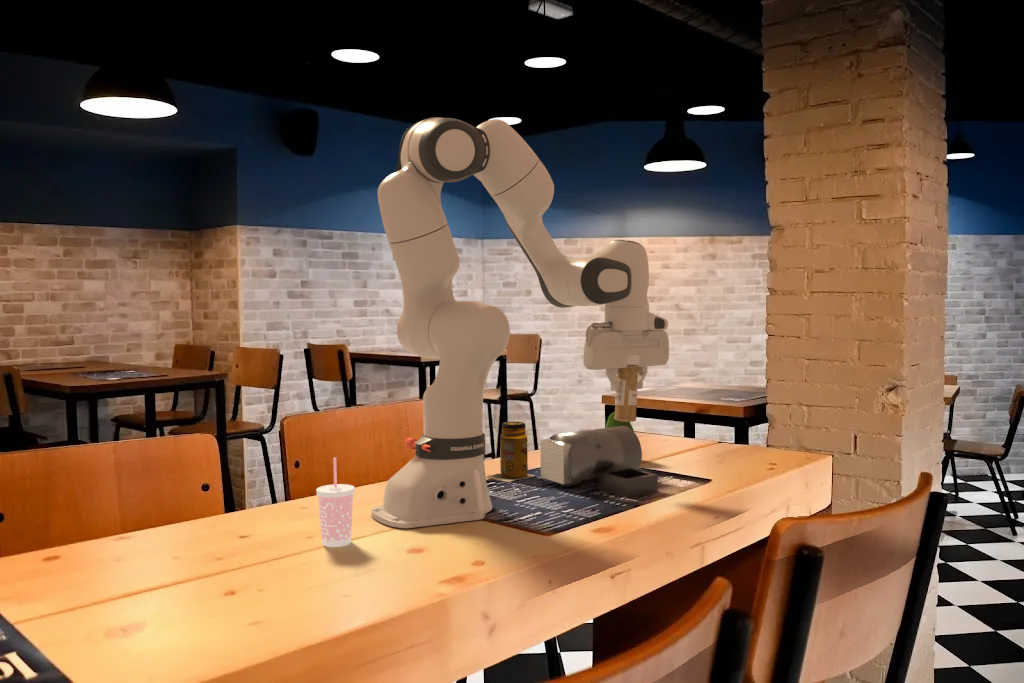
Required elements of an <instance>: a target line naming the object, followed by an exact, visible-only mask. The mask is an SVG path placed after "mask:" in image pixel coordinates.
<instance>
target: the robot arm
mask: <svg viewBox="0 0 1024 683" xmlns="http://www.w3.org/2000/svg"><path fill="white" fill-rule="evenodd" d="M398 150H399V151H398V156H397V162H396V171H395V172H393V173H390V174H389V175H388V176H386V177H385V178H384V179H383V180H382V181H381V182H380V184H379V186H378V188H377V200H378V207H379V213H380V216H381V220H382V226H383V229H384V233H385V236H386V238H387V241H388V245H389V246H390V250H391V252H392V253H391V254H392V256H393V259H394V262H395V265H396V268H397V271H398V274H399V277H400V281H401V287H402V292H403V293H402V295H403V307H402V312H401V314H400V316H399V317H398V321H397V324H396V336H397V339H398V342H399V343H400V345H401V347H402V348H403V349H404V350H405V351H407V352H409V353H410V354H413V355H416V356H418V357H421V358H423V359H429V360H430V359H431V360H439V365H438V370H437V374H436V376H435V378H434V380H433V383H432V384H431V385H429V386H427V388H426V390H425V391H424V393H423V396H422V405H423V406H422V408H423V410H422V411H423V412H422V413H423V416H422V417H423V418H422V419H423V420H422V421H423V434H422V435H421V436H420V438H419V439H418V440H417V439H416V438H413V437H407V438H406V439H405V441H404V446H405V447H406V448H407V449H410V450H415V454H414V455H415V456H413V458H412V459H410V460H409V461H408V462H407V463H406V464H405V465H404V466H402V467H401V468H400V469H399V470H398V471H397V472H396V473H395V474H393V475H392V476H391V477H390V478H389V479H388V480H387V482H386V483H385V484H386V485H385V488H384V495H383V503H382V504H381V505H377V506H374V507H372V509H371V517H372V518H373V519H374V520H375V521H377V522H378V523H381V524H383V525H386V526H389V527H394V528H398V529H412V528H420V527H428V526H429V527H430V526H436V525H437V526H438V525H445V524H455V523H462V522H470V521H478V520H483V519H485V517H486V514H487V513H489V512H491V511H492V510H493V505H492V504H493V503H492V501H491V497H490V493H489V490H488V484H487V475H486V469H485V459H486V434H485V433H484V430H483V428H484V427H483V424H484V423H483V418H484V414H483V411H484V409H483V408H484V403H483V402H484V392H485V386H486V382H487V380H488V376H489V373H490V371H491V368H492V366H493V364H494V363H495V361H496V360H497V359H498V358H499V357H500V356H501V355H502V354H503V353H504V351H505V350H506V348H507V347H508V344H509V341H510V336H511V330H510V329H511V328H510V327H511V326H510V323H509V320H508V317H507V316H506V314H505V312H504V311H503V310H501V309H500V308H499V307H496V306H495V305H491V304H488V303H485V302H482V301H481V302H480V301H478V300H477V301H475V300H473V301H472V300H471V301H470V300H469V301H468V300H465V301H464V300H463V301H460V300H459V301H458V300H456V298H455V296H454V291H453V278H454V276H455V275H456V274H457V272H458V270H459V268H460V257H459V253H458V251H457V248H456V244H455V241H454V239H453V235H452V233H451V229H450V227H449V224H448V220H447V218H446V215H445V211H444V210H443V207H442V201H441V200H442V199H441V193H442V189H443V188H442V187H443V186H444V183H455V182H460V181H463V180H466V179H468V178H469V177H473V176H474V177H475V178H476V179H477V180H478V181H479V182H481V183H482V185H483V187H484V188H485V189H486V191H487V192H488V194H489V195H490V196H491V198H492V199H493V200H494V202H495V203H496V205H497V206H498V208H499V210H500V211H501V213H502V214H503V215H504V219H505V223H506V225H507V227H508V230H509V232H510V233H511V235H512V236H513V238H514V239H515V241H516V243H517V245H518V246H519V248H520V249H521V250H522V252H523V254H524V255H525V257H526V258H527V260H528V261H529V263H530V264H531V267H532V268H533V269H534V270H533V271H535V274H536V276H537V278H538V281H539V282H538V283H539V286H540V289H541V291H542V294H543V296H544V298H545V299H546V300H547V301H548V302H549V303H550V304H551V305H552V306H555V307H557V308H562V309H564V308H565V309H566V308H572V307H590V306H592V307H593V306H596V307H597V306H598V307H599V306H602V305H604V321H603V322H593V323H591V324H590V325H589V326H588V327H587V328H586V331H585V340H584V341H585V342H584V348H583V356H582V357H583V359H582V361H583V362H582V363H583V365H584V368H585V369H587V370H590V371H591V370H594V371H599V370H600V371H601V370H605V374H606V376H607V378H608V381H609V382H610V391H612V392H616V391H620V390H621V386H622V382H619V381H618V379H617V374H618V368H626V367H627V356H629V355H637V356H640V363H639V365H638V366H639V367H638V387H637V390H643V388H644V380H645V378H646V376H647V373H648V367H656V366H657V367H658V366H666V365H667V363H668V361H669V359H670V342H669V340H670V339H669V335H668V333H667V331H666V330H667V329H668V327H669V321H668V319H666V318H665V317H662V316H659V315H657V314H654V313H652V312H650V305H649V304H650V303H649V300H648V290H649V286H650V269H649V266H650V265H649V258H648V257H649V256H648V253H647V250H646V247H645V246H644V245H642V244H641V243H639V242H637V241H634V240H627V239H626V240H625V239H616V240H612V241H609V242H608V243H607V245H606V246H605V247H604V248H602V249H601V250H598V251H597V252H595V253H593V254H590V255H589V256H585V257H573V258H572V257H571V256H570V257H569V256H567V255H565V254H564V253H562V252H561V251H560V249H559V248H558V247H557V245H556V243H555V241H554V240H553V238H552V236H551V235H550V233H549V232H548V230H547V228H546V226H545V225H544V222H543V215H544V213H546V211H547V210H548V209H549V208H550V206H551V204H552V201H553V198H554V194H555V184H554V182H553V179H552V177H551V175H550V173H549V171H548V169H547V168H546V166H545V165H544V163H543V162H542V161H541V160H540V157H538V155H537V154H536V153H535V152H534V150H533V149H532V147H530V145H529V144H528V143H527V141H526V140H524V138H523V137H522V136H521V135H520V134H519V133H518V132H517V131H516V130H515V129H514V128H513V127H512V126H511V125H510V124H508V123H507V122H506V121H505V120H501V119H489V120H486V121H483V122H482V123H480V124H478V125H477V126H474V125H472V124H470V123H468V122H465V121H463V120H461V119H457V118H453V117H441V116H440V117H438V116H437V117H436V116H435V117H429V118H426V119H423V120H419V121H416V122H415V123H413V124H411V125H410V126H409V127H408V128H406V131H404V133H403V135H402V137H401V140H400V143H399V149H398Z"/></svg>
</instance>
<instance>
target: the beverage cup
mask: <svg viewBox="0 0 1024 683" xmlns="http://www.w3.org/2000/svg"><path fill="white" fill-rule="evenodd" d="M332 459H333V460H332V461H333V462H332V463H333V484H326V485H321V486H319V487H317V488H316V489H315V490H316V491H315V492H316V496H317V497H318V508H319V509H318V510H319V520H320V533H321V544H322V545H323V546H325V547H327V548H339V547H345V546H348V545H349V544H351V542H352V528H353V526H352V525H353V524H352V522H353V502H354V501H353V500H354V499H353V498H354V497H353V496H354V494H355V486H354V485H352V484H347V483H344V484H343V483H338V474H337V457H333V458H332Z"/></svg>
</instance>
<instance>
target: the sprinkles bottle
mask: <svg viewBox="0 0 1024 683" xmlns="http://www.w3.org/2000/svg"><path fill="white" fill-rule="evenodd" d="M639 363H640V356H637V355H629V356H627V367H626V368H618V374H616V376H617V379H618V381H619V382H622V386H621V390H620V391H615V398H614V401H615V403H614V404H615V408H614V412H615V417H614V419H615V420H616V421H621V422H630V423H633V422H636V421H637V404H638V389H637V387H638V367H639V366H638V365H639Z"/></svg>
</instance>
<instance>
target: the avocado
mask: <svg viewBox="0 0 1024 683" xmlns="http://www.w3.org/2000/svg"><path fill="white" fill-rule="evenodd" d="M614 417H615V411H612V413H610V414H609V416H608V418H607V419H606V420H607V421H606V425H605V428H610V427H618V426H626V427H628V428H630V429H631V430H633V431H634V433H635V430H634V427H633V426H632V422H621V421H616V420H615V419H614ZM635 434H636V433H635Z"/></svg>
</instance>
